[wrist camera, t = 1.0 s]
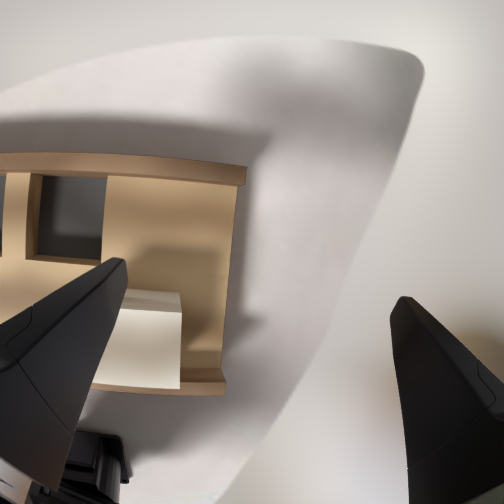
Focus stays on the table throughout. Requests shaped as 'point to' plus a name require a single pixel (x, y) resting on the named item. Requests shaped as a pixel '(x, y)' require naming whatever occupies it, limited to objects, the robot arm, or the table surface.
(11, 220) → the box
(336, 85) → the table surface
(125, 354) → the block
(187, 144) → the table surface
